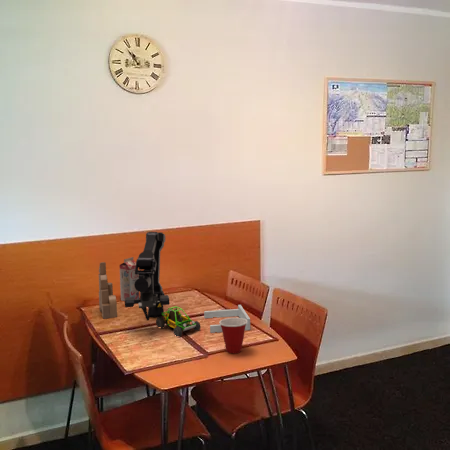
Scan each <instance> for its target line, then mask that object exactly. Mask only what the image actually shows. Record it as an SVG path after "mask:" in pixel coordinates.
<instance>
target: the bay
mask: <svg viewBox="0 0 450 450" xmlns="http://www.w3.org/2000/svg"><path fill="white" fill-rule="evenodd" d="M203 317H204V319H213V317H217V318H233V317H238V318H243V319H246V320H247V324H246V327H245V331H251V318H250V316H249V315H248V313H247V312H246V310H245V309H244V308H243V306H242V304H238V305H237V308H234V309H218V310H204V312H203ZM209 332H210V334H215V332H217V333H223V332H222V328H221V325H220V324H210V325H209Z"/></svg>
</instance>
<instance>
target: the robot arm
mask: <svg viewBox="0 0 450 450" xmlns="http://www.w3.org/2000/svg"><path fill="white" fill-rule="evenodd" d="M165 243H166V234H165V233H164V232H158V231H147V232H146V233H145V244H144V248H143V251H142V252H140V253H139V255H138V257H137V258H136V261H135V262H136V268H135V274H139V277H138V279H137V280H136V281H135V284H134V286H135V289H136V290H137V291H139V299H134V297H126V298H125V301H124V307H125V308H133V307H134V306H135V305H137V304H138V309H141V310H142V312H143V314H144V316H145V319H146V321H149V320H150V319H151V318H150V317H153V318H158V317H162V311H163V312H165V311H164V306H169V305H170V296H169V295H168V294H165V293H164V291H163V286H162V284H161V283H160V276H161V275H160V274H161V273H160V272H161V271H160V270H161V251H162V250H163V248H164V247H165ZM159 304H161V306H162V307H158V305H159ZM147 309H148V310H147ZM163 314H165V313H163Z"/></svg>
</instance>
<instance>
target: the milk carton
mask: <svg viewBox="0 0 450 450" xmlns="http://www.w3.org/2000/svg"><path fill="white" fill-rule="evenodd" d="M135 268H136V261H135V259H134V257H128V258H124V259H123V263H120V264H119V287H120V288H119V289H120V301H122V302H125V298H126V297H134V299H140V292H139V291H137V290H136V289H135V286H134V284H135V281H136V280H137V279H138V277H139V274H135Z"/></svg>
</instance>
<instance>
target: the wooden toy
mask: <svg viewBox="0 0 450 450" xmlns="http://www.w3.org/2000/svg"><path fill="white" fill-rule="evenodd" d="M98 289H99V290H98V303H99V312H100V313H101V317H102V319H104V320H105V319H112V318H118V305H117V297H116V296H117V295H115V294H114V292H113V291H114V290H113V282H108V274H107V263H106V262H105V261H103V262H99V268H98Z"/></svg>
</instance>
